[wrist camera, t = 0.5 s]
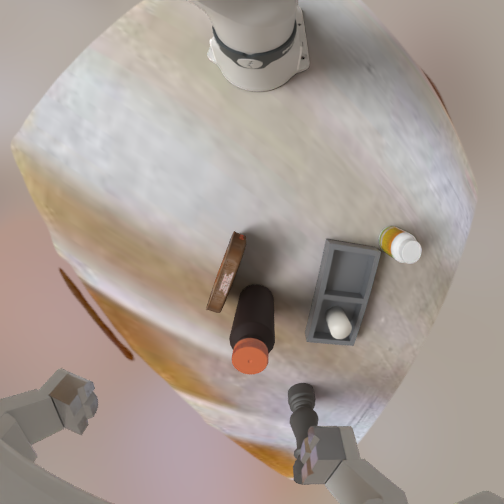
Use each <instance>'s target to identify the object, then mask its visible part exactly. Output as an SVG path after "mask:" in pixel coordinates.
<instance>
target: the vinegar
mask: <svg viewBox="0 0 504 504" xmlns="http://www.w3.org/2000/svg"><path fill="white" fill-rule="evenodd" d="M274 343H275V332H274V299H273V295H272V293H271V292H270V291H269V290H268V288H266V287H264V286H261V285H251V286H248V287H246V288H245V289H244V290H243V291H242V292H241V294H240V296H239V300H238V305H237V309H236V313H235V317H234V321H233V326H232V330H231V334H230V345H231V347H232V349H233V354H232V364H233V365H234V367H235V368H236V369H237V370H238V371H240V372H242V373H245V374H256V373H259V372H261V371H263V370H264V369H265V368H266V366H267V364H268V354H269V352H270V351H271V350H272V349H273V346H274Z"/></svg>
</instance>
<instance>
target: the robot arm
mask: <svg viewBox="0 0 504 504" xmlns="http://www.w3.org/2000/svg"><path fill="white" fill-rule="evenodd" d="M187 1H189V2H190V3H192V4H194V5H195V6H197V7H199V8H200V9H201V10H203V11H204V12H205V13H206V14H207V16H208V17H209V19H210V21H211V23H212V25H213V27H212V28H213V38H212V39H210V45H211V46H210V48H209V50H208V53H207V56H208V59H209V60H210V61H211V62H213V63H214V64H216V65H217V66H218V67H219V68H220V70H221V72H222V73H223V75H224V76H225V78H226V79H227V80H228V81H229V82H231V83H232V84H233V85H235V86H237V87H239V88H241V89H244V90H248V91H268V90H272V89H275V88H277V87H279V86H281V85H283V84H284V83H286V82H287V81H288V80H289V79H290V78H291V77H292V76H293V75H295V74H296V73H299V72H302V71H304V70H306V69H308V68H309V64H310V62H309V54H308V46H307V39H306V32H305V26H304V20H303V13H302V9H301V8H300V7H299V6H297V5H298V0H187ZM301 57H303V58H304V59H303V60H302V59H301ZM94 389H95V387H94V384H93V382H91V381H89V380H87V379H85V378H82V377H80V376H77V375H75V374H73V373H71V372H69V371H66V370H64V369H62V368H61V369H58V370H57V371H56V372H55V373H54V374H53V375H52V376H51V377H50V378H49V380H48V381H47V382H46V383H45V384H44V385H43V386H42V387H41V388H40V389H39V390H37V389H34V390H31V391H28V392H24V393H21V394H17V395H14V396H10V397H6V398H3V399H0V504H114V503H112V502H109V501H107V500H104V499H102V498H99V497H97V496H95V495H93V494H91V493H88V492H86V491H84V490H82V489H80V488H78V487H76V486H74V485H72V484H70V483H68V482H66V481H64V480H63V479H61V478H59V477H57V476H56V475H54V474H52V473H50V472H49V471H47V470H45V469H44V468H42V467H40V466H39V465H37V464H35V463H34V461H35V460H36V458H37V453H36V452H35V450H34V449H33V447H32V446H31V445H32V444H34V443H36V442H38V441H41V440H43V439H44V438H46V437H49V436H51V435H52V434H55V433H56V432H58V431H60V430H62V429H64V428H66V429H68V430H71V431H73V432H75V433H77V434H80V435H82V434H83V432H84V431H85V429H86V427H87V426H88V419H89V418H92V417H94V415H95V413H96V411H97V408H98V399H97V396H96V395H95V393H94V392H93V390H94ZM300 456H301V462H302V463H303V464H304V466H303V468H302V470H301V471H302V484H325V486H326V487H327V489H328V490H329V491H330V493H331V494H332V495H333V496H334V497H335V499H336V500H337V501H338V502H339V503H340V504H408V502H407V498H406V495H405V492H404V491H403V490H401V489H400V488H399V487H397V486H396V485H395V484H394V483H393V482H391V481H390V480H389V479H388V478H386V477H385V476H384V475H383V474H382V473H380V472H379V471H378V470H377V469H376V468H375V467H373V466H372V465H371V464H370V463H369V462H367V461H366V460H365V459H361V458H360V454H359V450H358V447H357V443H356V439H355V436H354V432H353V428H352V427H351V426H338V427H337V426H311V427H310V428H309V430H308V437H307V438H305V439H304V441H303V443H302V447H301V455H300ZM454 504H504V499H503V498H501V497H500V496H498V495H496V494H494V493H492V492H489V491H482V492H480V493H477V494H475V495H473V496H471V497H469V498H466V499H464V500H462V501H459V502H457V503H454Z"/></svg>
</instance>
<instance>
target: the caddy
mask: <svg viewBox="0 0 504 504" xmlns="http://www.w3.org/2000/svg"><path fill="white" fill-rule="evenodd" d="M380 254H381V251H380V250H378V249H377V248H376V247H373V246H367V245H361V244H355V243H349V242H343V241H337V240H331V239H326V242H325V247H324V252H323V257H322V262H321V266H320V271H319V276H318V280H317V285H316V289H315V293H314V298H313V302H312V306H311V310H310V315H309V319H308V323H307V327H306V331H305V336H306V340H307V342H314V343H325V344H337V345H351V346H354V343H355V340H356V337H357V334H358V331H359V328H360V325H361V322H362V319H363V316H364V313H365V309H366V306H367V303H368V299H369V296H370V292H371V289H372V285H373V282H374V278H375V274H376V270H377V266H378V262H379V258H380ZM333 306H339V307H341V308H342V309H343V310H344V312H345V314H346V316H347V318H348V320H349V322H350V324H351V326H352V330H351V333H350V334H349V335H348V336H347V337H346V338H343V339H336V338H334V337H333V336H332V335H331V332H330V329H329V327H328V324H327V321H326V318H325V314H326V312H327V310H328V309H329V308H331V307H333Z"/></svg>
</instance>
